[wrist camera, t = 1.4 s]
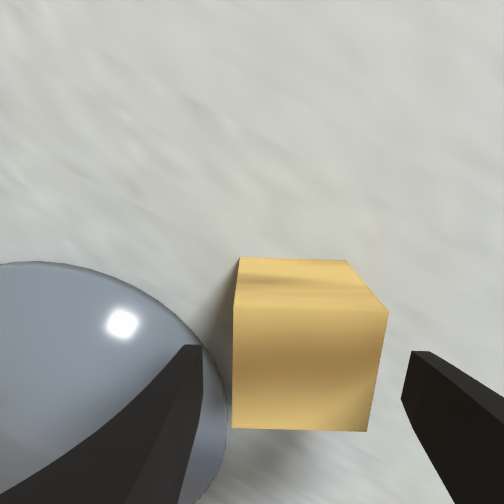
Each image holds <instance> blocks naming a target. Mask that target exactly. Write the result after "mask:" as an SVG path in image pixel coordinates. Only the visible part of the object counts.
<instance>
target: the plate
mask: <svg viewBox="0 0 504 504" xmlns="http://www.w3.org/2000/svg"><path fill="white" fill-rule="evenodd" d="M185 344H193V345H202V349H203V400H202V407H201V413H200V419H199V424H198V428H197V432H196V436H195V440H194V443H193V447H192V451H191V455H190V458H189V462H188V466H187V470H186V473H185V477H184V481H183V484H182V488H181V492H180V496H179V500H178V504H194V503H195V502H196V501H197V500H198V499H199V497H200V496H201V495H202V494H203V493H204V492H205V491H206V489H207V488H208V487H209V485H210V484H211V482H212V481H213V479H214V477H215V475H216V473H217V471H218V469H219V467H220V464H221V461H222V457H223V454H224V450H225V443H226V432H227V421H228V411H227V399H226V395H225V391H224V386H223V382H222V380H221V377H220V375H219V372H218V370H217V368H216V365H215V363H214V362H213V360H212V358H211V356H210V355H209V353H208V351H207V350H206V348H205V347H204V345H203V344H202V343H201V341H200V340H199V339H198V338H197V336H196V335H195V334H194V332H193V331H192V330H191V329H190V328H189V327H188V326H187V325H186V324H185V323H184V322H183V321H182V320H181V319H180V318H179V317H178V316H177V315H176V314H174V313H173V312H172V311H171V310H169V309H168V308H167V307H165V306H164V305H163V304H162V303H160V302H159V301H158V300H156V299H155V298H153V297H151V296H150V295H148V294H146V293H145V292H143V291H141V290H140V289H138V288H136V287H134V286H132V285H130V284H128V283H126V282H124V281H121V280H119V279H117V278H115V277H112V276H109V275H106V274H103V273H100V272H97V271H94V270H91V269H88V268H83V267H78V266H74V265H69V264H64V263H53V262H42V261H32V262H12V263H6V264H0V494H1V493H3V492H5V491H6V490H8V489H10V488H11V487H13V486H15V485H17V484H18V483H20V482H22V481H23V480H25V479H26V478H28V477H30V476H31V475H33V474H35V473H36V472H38V471H39V470H41V469H43V468H44V467H46V466H47V465H49V464H50V463H52V462H53V461H55V460H56V459H58V458H59V457H61V456H62V455H64V454H65V453H67V452H68V451H69V450H71V449H72V448H74V447H75V446H76V445H78V444H79V443H81V442H82V441H83V440H85V439H86V438H88V437H89V436H90V435H92V434H93V433H94V432H96V431H97V430H98V429H99V428H101V427H102V426H103V425H104V424H106V423H107V422H108V421H109V420H110V419H112V418H113V417H114V416H115V415H116V414H117V413H119V412H120V411H121V410H122V409H123V408H124V407H125V406H126V405H128V404H129V403H130V402H131V401H132V400H133V399H134V398H135V397H136V396H137V395H138V394H139V393H140V392H141V391H142V390H143V389H144V388H145V387H146V386H147V385H148V384H149V383H150V382H151V381H152V380H153V379H154V378H155V377H156V376H157V375H158V374H159V372H160V371H161V370H162V369H163V368H164V367H165V366H166V365H167V364H168V362H169V361H170V360H171V359H172V358H173V357H174V355H175V354H176V353H177V352H178V351H179V350H180V348H181V347H182V346H183V345H185Z"/></svg>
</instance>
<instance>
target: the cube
mask: <svg viewBox="0 0 504 504" xmlns="http://www.w3.org/2000/svg"><path fill="white" fill-rule="evenodd" d="M388 314H389V311H388V310H387V309H386V307H385V306H384V305H383V304H382V303H381V302H380V300H379V299H378V298H377V297H376V296H375V294H374V293H373V292H372V291H371V290H370V288H369V287H368V286H367V285H366V284H365V282H364V281H363V280H362V279H361V278H360V277H359V275H358V274H357V273H356V272H355V271H354V269H353V268H352V267H351V266H350V265H349V263H348V262H347V261H346V260H316V259H284V258H252V257H240V261H239V268H238V276H237V283H236V291H235V298H234V306H233V373H232V428H254V429H288V430H323V431H358V432H367V427H368V421H369V416H370V410H371V405H372V400H373V394H374V389H375V384H376V378H377V373H378V367H379V362H380V357H381V351H382V346H383V341H384V335H385V330H386V325H387V319H388Z"/></svg>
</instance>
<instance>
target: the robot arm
mask: <svg viewBox="0 0 504 504" xmlns="http://www.w3.org/2000/svg"><path fill="white" fill-rule="evenodd" d="M202 400H203V349H202V345H193V344H185V345H183V346H182V347H181V348H180V350H179V351H178V352H177V353H176V354H175V355H174V357H173V358H172V359H171V360H170V361H169V362H168V364H167V365H166V366H165V367H164V368H163V369H162V370H161V371H160V372H159V374H158V375H157V376H156V377H155V378H154V379H153V380H152V381H151V382H150V383H149V384H148V385H147V386H146V387H145V388H144V389H143V390H142V391H141V392H140V393H139V394H138V395H137V396H136V397H135V398H134V399H133V400H132V401H131V402H130V403H129V404H128V405H126V406H125V407H124V408H123V409H122V410H121V411H120V412H119V413H117V414H116V415H115V416H114V417H113V418H112V419H110V420H109V421H108V422H107V423H106V424H104V425H103V426H102V427H101V428H99V429H98V430H97V431H96V432H94V433H93V434H92V435H90V436H89V437H88V438H86V439H85V440H83V441H82V442H81V443H79V444H78V445H76V446H75V447H74V448H72V449H71V450H69V451H68V452H67V453H65V454H64V455H62V456H61V457H59V458H58V459H56V460H55V461H53V462H52V463H50V464H49V465H47V466H46V467H44V468H43V469H41V470H39V471H38V472H36V473H35V474H33V475H31V476H30V477H28V478H26V479H25V480H23V481H22V482H20V483H18V484H17V485H15V486H13V487H11V488H10V489H8V490H6V491H5V492H3V493H1V494H0V504H178V500H179V496H180V492H181V488H182V484H183V481H184V477H185V473H186V470H187V466H188V462H189V458H190V455H191V451H192V447H193V443H194V440H195V436H196V432H197V428H198V424H199V419H200V413H201V407H202ZM401 401H402V403H403V406H404V408H405V411H406V414H407V416H408V418H409V421H410V423H411V425H412V428H413V430H414V432H415V433H416V435H417V437H418V439H419V441H420V443H421V444H422V446H423V448H424V450H425V452H426V453H427V455H428V457H429V459H430V461H431V462H432V464H433V466H434V468H435V469H436V471H437V473H438V475H439V476H440V478H441V480H442V482H443V483H444V485H445V487H446V489H447V491H448V492H449V494H450V496H451V498H452V499H453V501H454V503H455V504H504V397H502V396H501V395H499V394H497V393H496V392H494V391H493V390H491V389H489V388H488V387H486V386H485V385H483V384H481V383H480V382H478V381H477V380H475V379H474V378H472V377H470V376H469V375H467V374H466V373H464V372H463V371H461V370H459V369H458V368H456V367H455V366H453V365H452V364H450V363H448V362H447V361H445V360H443V359H442V358H440V357H438V356H437V355H435V354H433V353H431V352H429V351H411V355H410V360H409V364H408V369H407V373H406V378H405V382H404V387H403V391H402V395H401Z"/></svg>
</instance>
